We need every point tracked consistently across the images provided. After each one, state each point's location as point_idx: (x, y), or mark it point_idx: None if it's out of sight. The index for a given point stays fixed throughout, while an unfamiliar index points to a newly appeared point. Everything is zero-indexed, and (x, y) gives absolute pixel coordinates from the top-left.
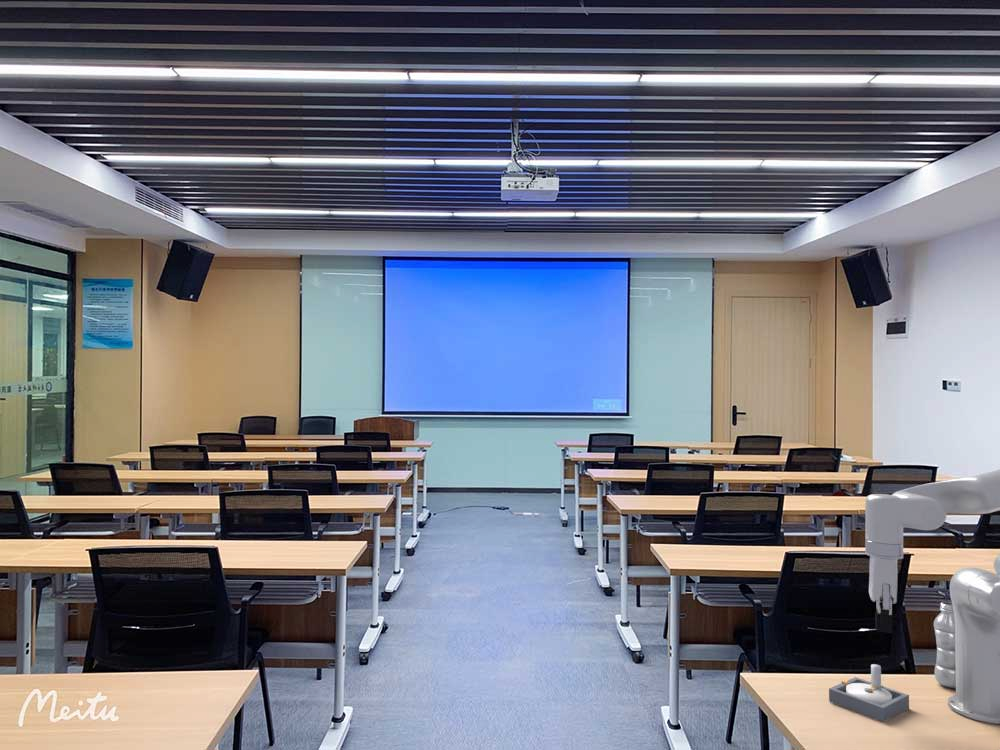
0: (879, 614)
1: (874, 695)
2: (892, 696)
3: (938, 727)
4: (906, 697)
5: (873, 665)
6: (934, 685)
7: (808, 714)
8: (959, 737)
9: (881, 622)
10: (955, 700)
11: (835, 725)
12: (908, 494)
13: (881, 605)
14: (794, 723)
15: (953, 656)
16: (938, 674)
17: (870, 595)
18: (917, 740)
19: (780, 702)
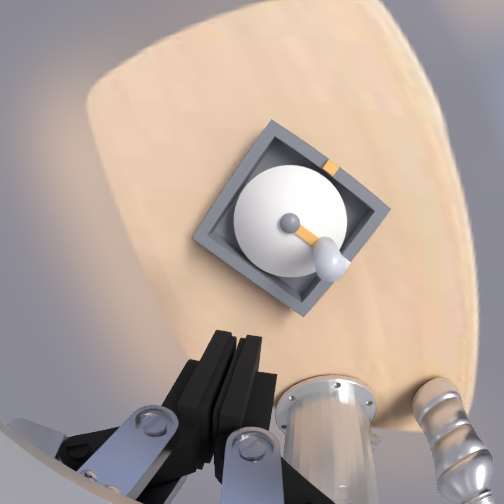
0: (182, 415)
1: (264, 232)
2: (316, 280)
3: (225, 330)
4: (293, 308)
5: (331, 260)
6: (434, 369)
7: (183, 83)
8: (196, 348)
9: (176, 382)
10: (345, 390)
11: (150, 134)
12: None
13: (61, 454)
14: (136, 67)
15: (430, 437)
16: (435, 389)
17: (43, 491)
18: (149, 276)
19: (226, 32)
